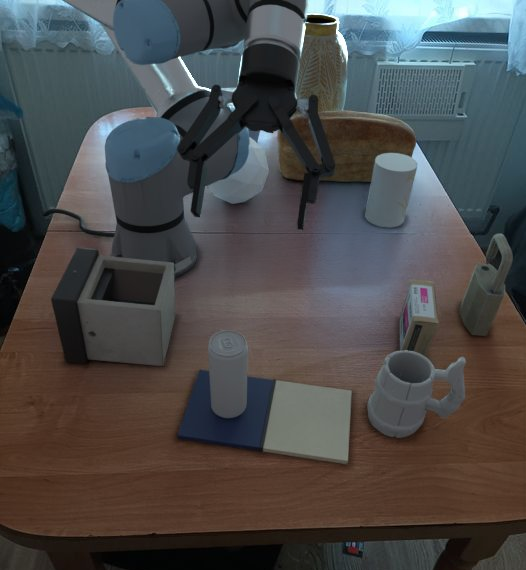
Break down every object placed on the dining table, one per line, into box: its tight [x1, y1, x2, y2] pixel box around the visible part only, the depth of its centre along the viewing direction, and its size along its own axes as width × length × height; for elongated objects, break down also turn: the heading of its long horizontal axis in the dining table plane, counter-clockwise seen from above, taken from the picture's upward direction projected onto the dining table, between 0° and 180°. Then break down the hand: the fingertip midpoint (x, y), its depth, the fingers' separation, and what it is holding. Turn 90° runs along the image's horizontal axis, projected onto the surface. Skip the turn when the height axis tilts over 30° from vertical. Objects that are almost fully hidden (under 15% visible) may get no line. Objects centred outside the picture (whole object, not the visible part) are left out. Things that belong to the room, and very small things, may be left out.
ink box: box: [399, 279, 440, 358], centre depth 82 cm, size 10×4×8 cm, turn 170°
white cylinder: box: [364, 153, 419, 228], centre depth 109 cm, size 8×8×12 cm
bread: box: [277, 109, 417, 183], centre depth 122 cm, size 12×31×14 cm, turn 91°
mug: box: [366, 350, 467, 439], centre depth 70 cm, size 8×12×12 cm, turn 85°
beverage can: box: [207, 329, 249, 418], centre depth 69 cm, size 5×5×12 cm
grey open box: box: [50, 247, 176, 367], centre depth 79 cm, size 12×14×12 cm
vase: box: [291, 13, 349, 117], centre depth 132 cm, size 17×17×27 cm
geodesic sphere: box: [206, 137, 270, 205], centre depth 111 cm, size 15×14×14 cm
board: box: [177, 369, 353, 465], centre depth 73 cm, size 22×12×1 cm, turn 81°
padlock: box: [459, 233, 514, 337], centre depth 84 cm, size 4×8×15 cm, turn 176°
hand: (247, 221), depth 69 cm, fingers open, 13 cm apart
